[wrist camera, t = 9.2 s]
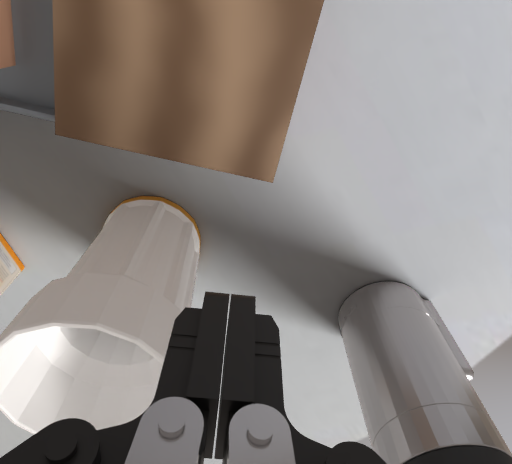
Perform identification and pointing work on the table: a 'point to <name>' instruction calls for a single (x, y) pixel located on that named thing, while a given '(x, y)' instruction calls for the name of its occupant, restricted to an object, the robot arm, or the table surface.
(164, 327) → the cup
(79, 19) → the walnut platform
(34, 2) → the slate tray
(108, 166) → the table surface
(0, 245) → the supplement box
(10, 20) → the terracotta tile
